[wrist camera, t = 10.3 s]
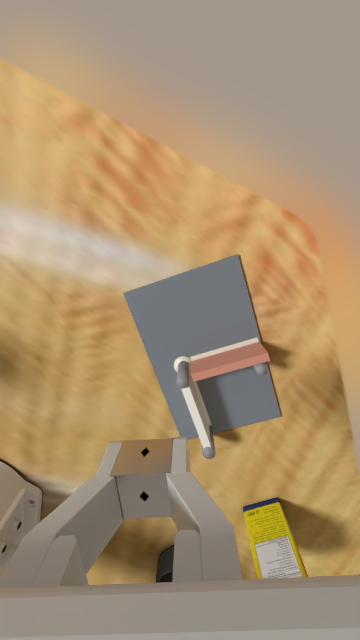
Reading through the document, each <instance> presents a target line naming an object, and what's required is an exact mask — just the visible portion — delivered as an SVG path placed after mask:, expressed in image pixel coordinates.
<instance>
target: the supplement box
mask: <svg viewBox="0 0 360 640" xmlns="http://www.w3.org/2000/svg"><path fill="white" fill-rule="evenodd" d="M243 512H244V517H245V522H246V527H247V531H248V536H249V541H250V545H251V550H252V555H253V560H254V564H255V569H256V574H257V578H258V579H267V578H294V577H308V575H307V572H306V569H305V566H304V564H303V561H302V558H301V555H300V553H299V550H298V547H297V545H296V542H295V539H294V537H293V534H292V531H291V529H290V526H289V524H288V521H287V519H286V517H285V514H284V512H283V509H282V507H281V505H280V502H279V500H278V498H274V499H271V500H267V501H264V502H260V503H257V504H253V505H250V506H246V507H243Z"/></svg>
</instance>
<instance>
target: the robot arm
mask: <svg viewBox="0 0 360 640" xmlns="http://www.w3.org/2000/svg"><path fill="white" fill-rule="evenodd" d="M41 503H42V491H41V490H40V489H39V488H38V487H36V486H34V485H33V484H31V483H29V482H27V481H25V480H24V479H23V478H22V477H21V476H20V475H19V474H18V473H17V472H16V471H15V470H13V469H12V468H11V467H9V466H8V465H6V464H5V463H3V462H1V461H0V640H360V575H348V576H321V577H294V578H267V579H243V578H242V573H241V567H240V561H239V556H238V550H237V545H236V539H235V533H234V528H233V526H232V524H231V523H230V522H229V520H228V519H227V518H226V517H225V515H224V514H223V513H222V511H221V510H220V509H219V507H218V506H217V505H216V504H215V502H214V501H213V500H212V498H211V497H210V496H209V495H208V493H207V492H206V491H205V489H204V488H203V487H202V485H201V484H200V483H199V482H198V480H197V479H196V478H195V476H194V475H193V474H192V472H190V460H189V450H188V440H187V437H175V438H166V439H152V440H128V441H112V442H110V443H109V445H108V447H107V450H106V452H105V454H104V457H103V459H102V462H101V464H100V466H99V469H98V471H97V473H96V476H95V478H90V479H89V480H88V481H87V482H85V483H84V484H83V485H82V486H81V487H80V488H79V489H77V490H76V491H75V492H74V493H73V494H72V495H71V496H69V497H68V498H67V499H66V500H65V501H64V502H63V503H61V504H60V505H59V506H58V507H57V508H56V509H55V510H53V511H52V512H51V513H50V514H49V515H48V516H47V517H46V518H44V519H43V520H42V521H41V522H40V515H41ZM147 517H172V519H173V521H174V523H175V525H176V527H177V529H178V532H177V534H176V535H175V542H174V561H173V580H172V582H164V583H138V584H110V585H88V581H87V577H86V574H87V572H88V571H89V570H90V568H91V567H92V565H93V564H94V562H95V561H96V560H97V558H98V557H99V555H100V554H101V552H102V551H103V550H104V548H105V547H106V545H107V544H108V542H109V541H110V540H111V538H112V537H113V535H114V534H115V533H116V531H117V530H118V528H119V527H120V525H121V524H122V523H123V519H135V518H147Z"/></svg>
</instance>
